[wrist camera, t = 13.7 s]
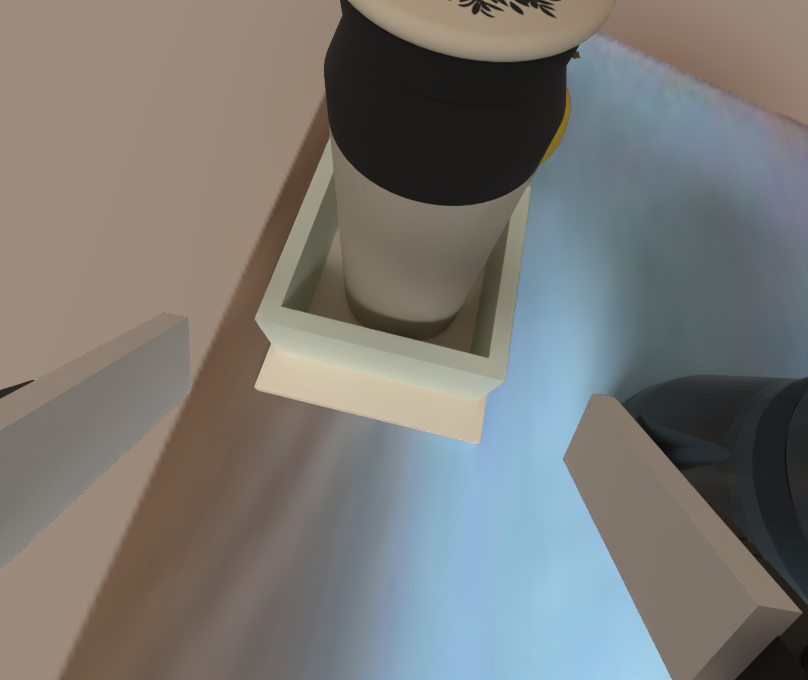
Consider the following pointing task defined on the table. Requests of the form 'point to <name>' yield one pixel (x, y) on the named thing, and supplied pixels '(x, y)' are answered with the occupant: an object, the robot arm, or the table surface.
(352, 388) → the holder
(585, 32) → the travel mug
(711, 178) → the table surface
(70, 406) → the robot arm
